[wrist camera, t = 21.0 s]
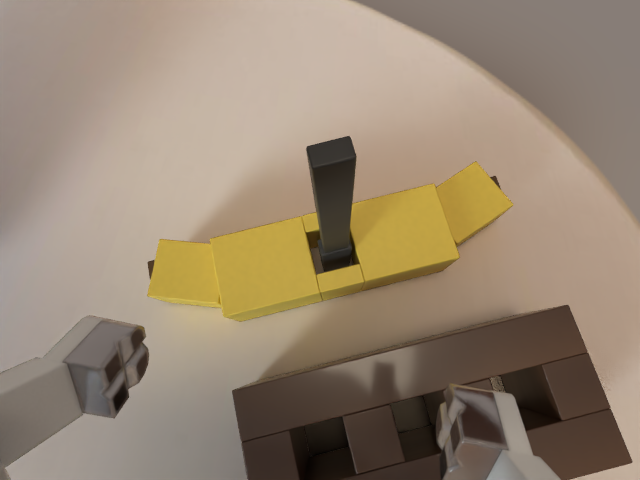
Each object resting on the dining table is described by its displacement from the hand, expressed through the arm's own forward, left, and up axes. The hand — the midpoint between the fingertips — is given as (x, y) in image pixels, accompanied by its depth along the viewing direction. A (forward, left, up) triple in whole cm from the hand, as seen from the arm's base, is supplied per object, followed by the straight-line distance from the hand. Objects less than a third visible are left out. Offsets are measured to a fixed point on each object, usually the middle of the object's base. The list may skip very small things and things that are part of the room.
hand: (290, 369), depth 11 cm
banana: (+2, +6, -16) cm, 17 cm away
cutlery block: (+4, -4, -16) cm, 17 cm away
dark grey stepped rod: (+3, +6, -16) cm, 17 cm away
